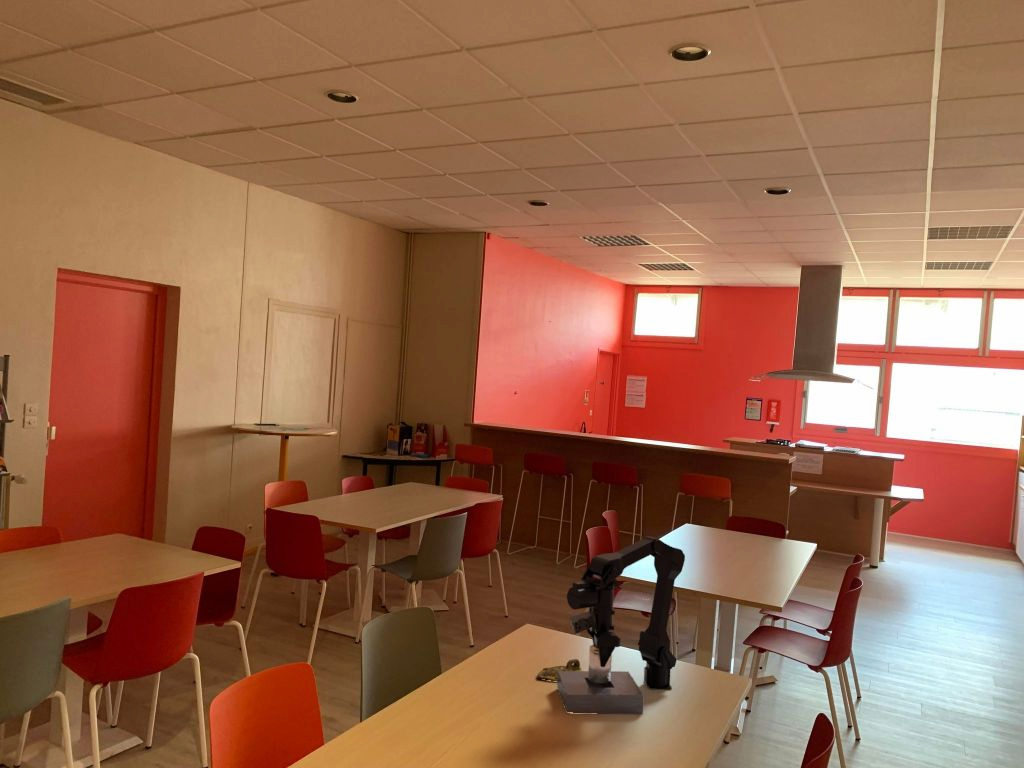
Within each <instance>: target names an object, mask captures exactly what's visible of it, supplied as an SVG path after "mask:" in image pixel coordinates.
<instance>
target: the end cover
mask: <svg viewBox="0 0 1024 768" xmlns="http://www.w3.org/2000/svg"><path fill="white" fill-rule="evenodd" d="M588 650H589V653H588V679H589V680H590V681H592V682H596V683H607V682H610V680H611V671H612V657H613V656H612V654H613V653H612V654H611V656H610V658H609V660H608V662H607V664H606V666H605V667H601V666H600V658H599V650H598V647H597V646H596V645H593V644H591V645H589V649H588Z"/></svg>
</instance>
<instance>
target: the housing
mask: <svg viewBox="0 0 1024 768" xmlns="http://www.w3.org/2000/svg"><path fill="white" fill-rule="evenodd" d="M588 671H589V670H588ZM588 671H587V670H585V671H584V670H583V671H582V670H581V671H558V681H557V682H556V684H557V686H556V689H557V688H558V690H557V692H558V691H559V693H560V695H559V697H560V696H561V698H560V700H561V699H562V700H561V702H562V701H563V703H562V705H563V704H564V706H565V708H564V710H565V709H566V711H567V712H573V713H597V714H596V715H643V714H644V694H643V692H642V690H641V689H640V687H639V685H638V684H637V683H636V681H635V680H634V678H633V676H632V675H631V673H630V672H629V671H620V670H619V671H617V670H615V671H612V670H611V680H610V682H607V683H596V682H592V681H590V680H589V679H588ZM559 693H558V694H559ZM564 706H563V707H564ZM566 711H565V712H566Z"/></svg>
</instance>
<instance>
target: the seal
mask: <svg viewBox="0 0 1024 768" xmlns="http://www.w3.org/2000/svg"><path fill="white" fill-rule="evenodd" d="M565 665H566V666H565ZM565 665H556V666H552V667H551V666H550V667H544V668H542V670H540V671H539V672H538V673H537V675H536V678H537V677H538V678H540V679H539V680H541V679H545V680H551V681H558V671H582V667H581V664H580V660H579V659H578V658H573V659H569V660H568V661H567V663H566V664H565ZM538 678H537V679H538Z"/></svg>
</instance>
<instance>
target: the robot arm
mask: <svg viewBox="0 0 1024 768" xmlns="http://www.w3.org/2000/svg"><path fill="white" fill-rule="evenodd" d="M649 556H652V557H653V559H654V560H653V565H654V569H655V573H656V575H657V577H656V582H655V587H654V595H653V602H652V607H651V612H650V618H649V624H648V627H646V629H645V630H644V631H643V630H641V631H640V632H639V640H638V642H637V645H638V651H639V653H640V656H641V660H642V661H644V662H645V664H646V666H645V667H644V668H643V670H644V671H643V682H644V684H645V685H646V686H647V687H648V689H649V690H672V689H673V688H672V685H671V670H672V669H673V668H675V667H676V664H677V658H676V656H675V655H674V654H673V652H671V651H670V648H671V647H670V646H671V640H670V637H669V634H668V630H667V629H668V622H669V616H670V611H671V607H672V606H671V604H672V600H673V599H672V598H673V593H674V587H675V581H676V579H677V577H678V576H680V574H681V573H682V572H683V567H684V565H685V561H686V555H685V553H684V551H683V550H682V549H680V548H677V547H673V546H671V545H670V544H667V543H666V542H664V541H662V540H661V539H660V538H657V537H653V536H649V535H647V536H644V537H643V538H642V539H640V540H638V541H636V542H635V543H633V544H631V545H628V546H626V547H624V548H623V549H619V550H618V551H616V552H615V551H614V552H611V553H602V554H598V555H597V554H596V555H595V556H593V557H592V558H591V560H590V562H589V564H588V566H587V568H586V570H585V572H584V573H583V575H582V576H581V579H580V581H581V582H578V581H576V582H572V587H570V588H569V589H568V590H567V593H566V600H567V601H566V602H567V604H568V606H569V607H570V608H571V610H576V611H577V610H582V609H587V608H588V611H585V612H581V613H579V614H576V615H573V616H571V617H570V618H569V621H570V624H571V628H572V630H573V632H574V633H575V634H580V633H582V632H583V631H586V632H587V633H588V634H589V636H590V637H591V639H592V645H596V646H597V647H598V650H599V658H600V666H601V667H605V666H606V664H607V662H608V660H609V658H610V656H611V654H613V652H614V650H615V649H616V648H619V647H621V637H620V636H618V633H616V632H615V631H614V630H615V625H614V624H613V620H614V618H613V616H614V615H615V612H616V611H615V609H614V595H615V594H614V592H615V588H619V587H620V586H621V584H620V583H619V582H618V581H617V580H616V579H618V578H619V577H620V576H621V575H622V574H623V572H624V570H625V569H626V568H628V567H629V566H630V567H631V565H634V564H635V563H637V562H640V561H641V560H644V559H646V558H647V557H649Z"/></svg>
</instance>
